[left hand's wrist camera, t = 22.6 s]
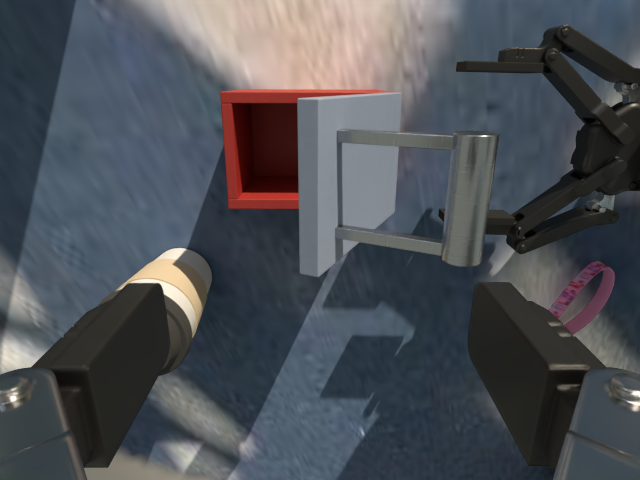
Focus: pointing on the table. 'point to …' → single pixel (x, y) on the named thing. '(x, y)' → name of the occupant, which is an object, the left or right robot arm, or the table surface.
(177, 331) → the coffee cup
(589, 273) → the headband
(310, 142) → the lid
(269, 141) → the chest
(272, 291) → the table surface
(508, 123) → the table surface
